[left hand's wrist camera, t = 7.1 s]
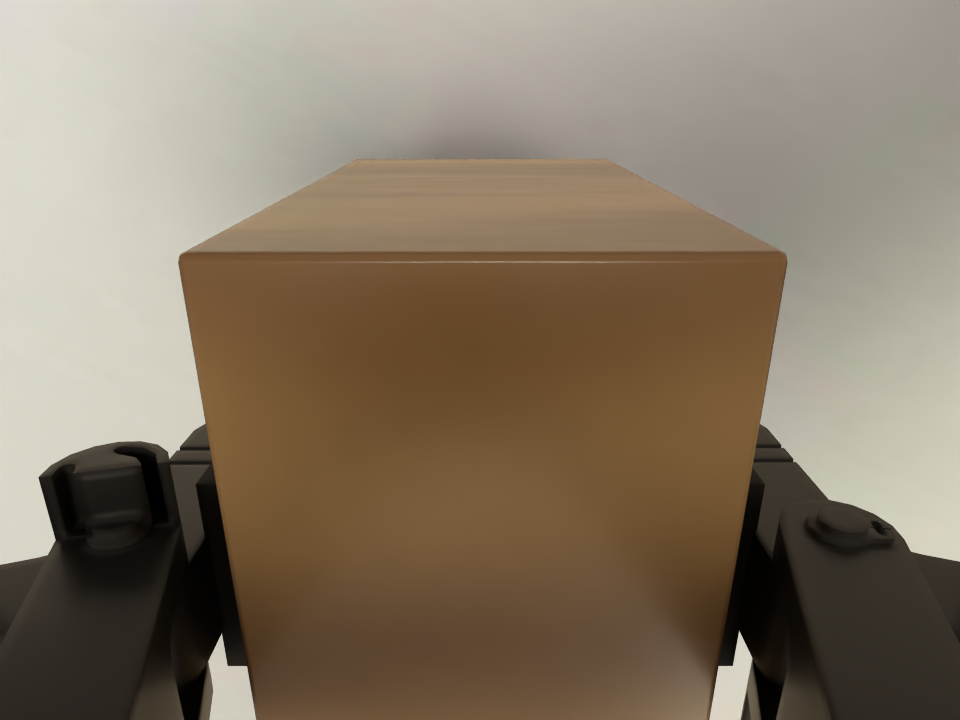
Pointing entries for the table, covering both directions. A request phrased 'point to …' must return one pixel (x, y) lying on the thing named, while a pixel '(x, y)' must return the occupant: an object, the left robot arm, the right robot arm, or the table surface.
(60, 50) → the table surface
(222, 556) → the left robot arm
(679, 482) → the post
